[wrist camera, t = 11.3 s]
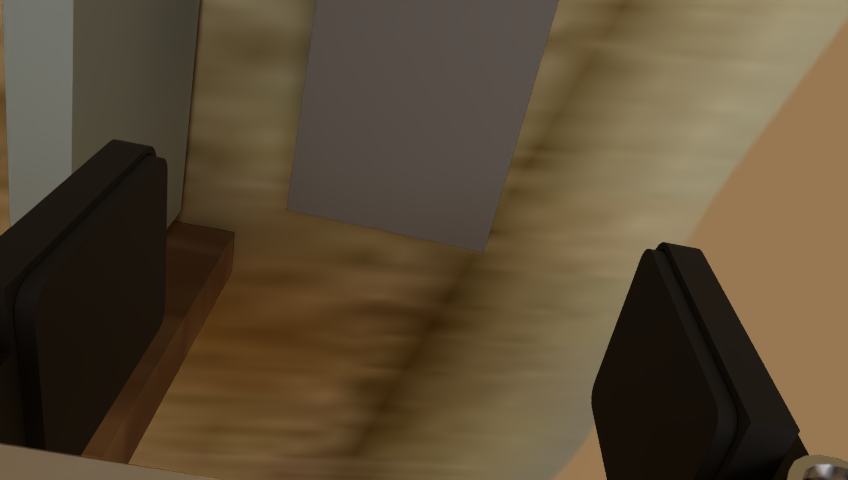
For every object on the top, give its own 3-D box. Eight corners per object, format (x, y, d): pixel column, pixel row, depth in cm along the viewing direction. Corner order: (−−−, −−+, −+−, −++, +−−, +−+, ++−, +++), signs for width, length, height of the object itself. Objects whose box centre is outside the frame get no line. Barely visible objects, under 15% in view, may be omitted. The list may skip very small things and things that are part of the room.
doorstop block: (370, -168, 23) (340, -166, 17) (562, -121, 23) (590, -105, 18) (321, 136, 27) (286, 209, 22) (481, 172, 28) (483, 252, 23)
